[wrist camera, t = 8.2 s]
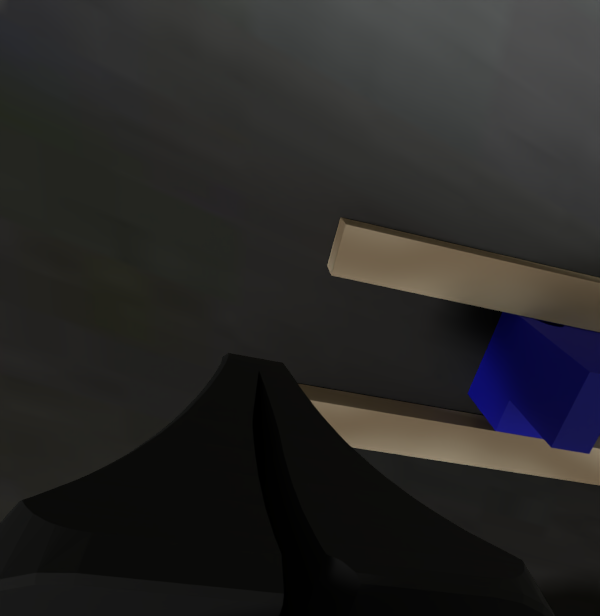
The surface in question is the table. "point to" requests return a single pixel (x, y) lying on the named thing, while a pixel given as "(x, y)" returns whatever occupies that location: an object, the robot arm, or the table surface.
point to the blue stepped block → (541, 382)
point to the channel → (469, 290)
